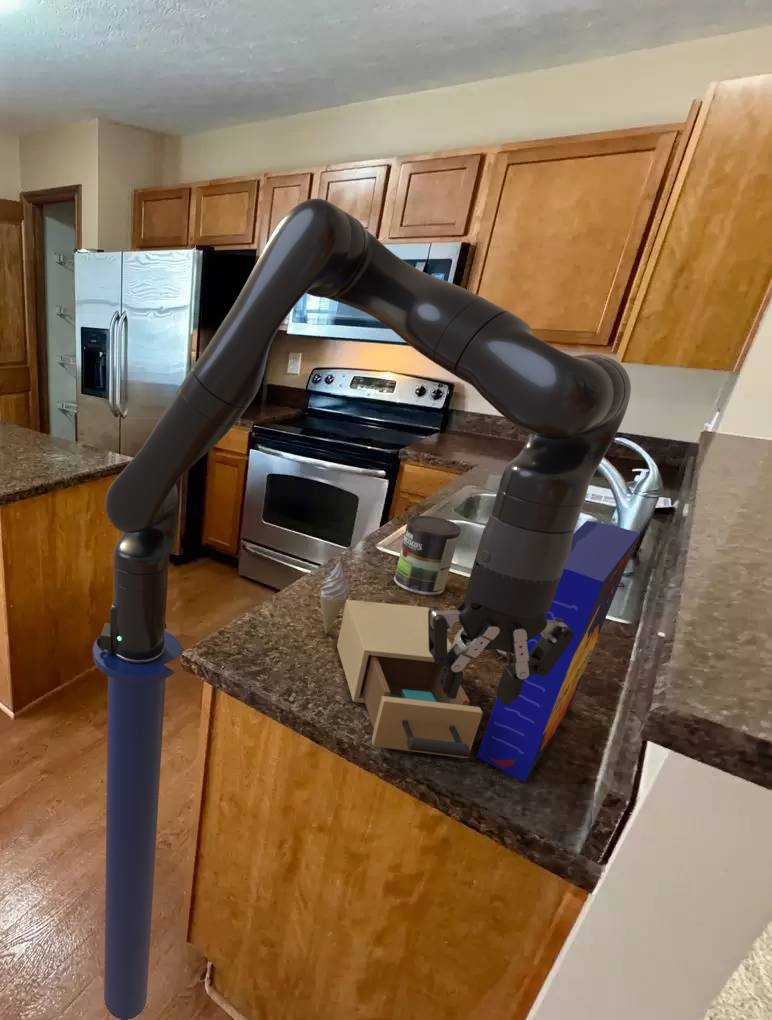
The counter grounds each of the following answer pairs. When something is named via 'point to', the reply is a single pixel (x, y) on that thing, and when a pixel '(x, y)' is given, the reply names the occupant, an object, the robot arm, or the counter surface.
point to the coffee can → (426, 554)
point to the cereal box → (583, 609)
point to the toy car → (416, 695)
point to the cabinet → (380, 637)
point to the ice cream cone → (333, 596)
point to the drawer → (417, 709)
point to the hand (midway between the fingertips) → (475, 696)
